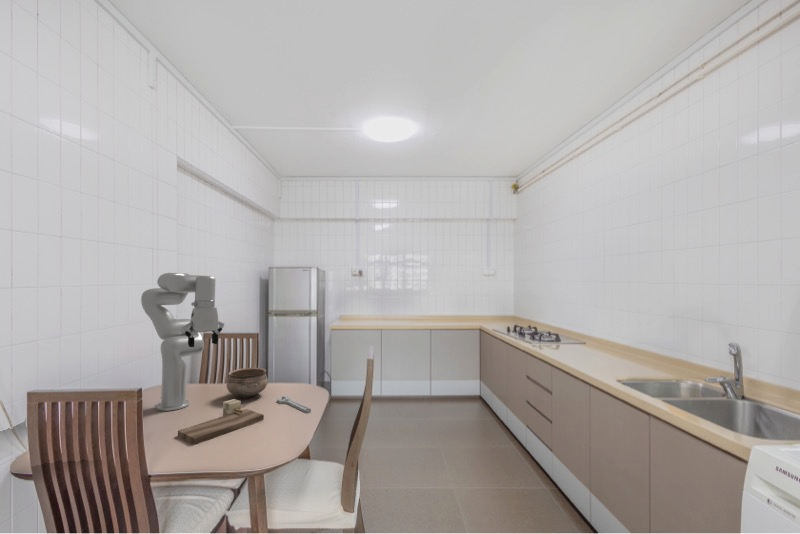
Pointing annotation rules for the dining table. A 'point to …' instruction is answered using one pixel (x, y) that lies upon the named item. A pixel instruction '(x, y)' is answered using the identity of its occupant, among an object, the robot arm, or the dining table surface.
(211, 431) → the board
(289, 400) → the adjustable wrench
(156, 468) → the dining table surface
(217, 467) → the dining table surface
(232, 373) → the cooking pot
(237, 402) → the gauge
